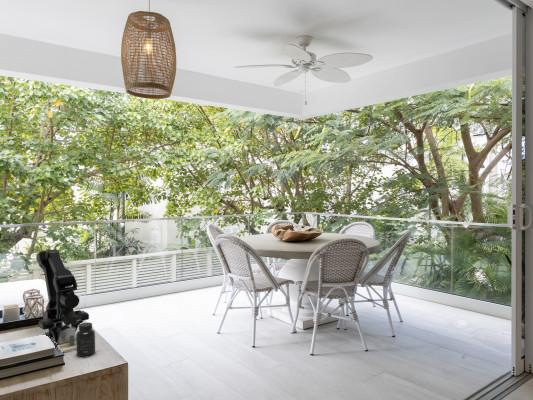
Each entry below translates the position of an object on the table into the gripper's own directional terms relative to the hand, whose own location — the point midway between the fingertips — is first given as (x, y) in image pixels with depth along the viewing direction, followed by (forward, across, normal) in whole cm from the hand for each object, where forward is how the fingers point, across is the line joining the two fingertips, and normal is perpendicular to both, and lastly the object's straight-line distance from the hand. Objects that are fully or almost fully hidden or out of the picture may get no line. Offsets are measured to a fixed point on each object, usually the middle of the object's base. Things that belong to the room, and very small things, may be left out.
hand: (64, 339), depth 179 cm
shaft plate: (+1, 0, -8) cm, 8 cm away
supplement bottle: (+1, +1, -18) cm, 19 cm away
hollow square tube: (+1, 0, 0) cm, 1 cm away
